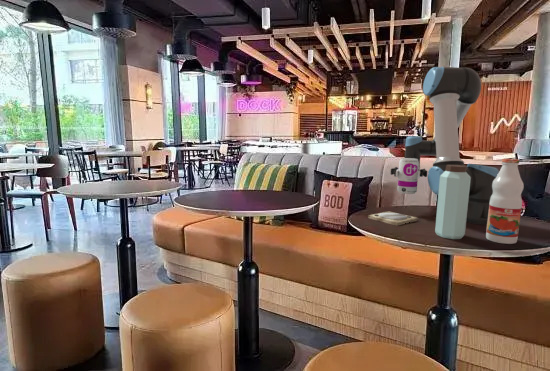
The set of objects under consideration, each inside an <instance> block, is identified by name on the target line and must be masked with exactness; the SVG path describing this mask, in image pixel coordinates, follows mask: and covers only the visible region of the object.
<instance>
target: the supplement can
mask: <svg viewBox="0 0 550 371" xmlns="http://www.w3.org/2000/svg"><path fill="white" fill-rule="evenodd" d="M398 168H399V172H398V177H397V185H396V186H397V189H396V190H397V192H398V193H399V194H402V195H403V194H406V195H414V194H417V192H418V180H419V179H418V178H417V176H418V169H419V161H418V159H414V158H405V157H402V158H400V160H399V161H398Z"/></svg>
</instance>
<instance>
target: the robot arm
mask: <svg viewBox="0 0 550 371" xmlns="http://www.w3.org/2000/svg"><path fill="white" fill-rule="evenodd" d="M422 91H423V95H425V96H427V97H429V103H431V104H432V105H433V115H434V116H433V118H434V137H433V140H428V139H427V140H424V139H423V137H421V136H411V135H409V136H406V138H405V144H404V158H414V159H418V161H419V169H418V176H417V178H418V180H420V177H421V178H422V177H425V178H426V177H427V184H428V186H429V189H430V190H431V192H432V193H433V194H435V195H437V196H438V193H439V182H440V175H442V174H443V173H444V172H445V169H446V165H462V166H465V161H464V160H463V159H462V158H460V147H459V146H460V144H459V130H458V128H459V127H460V125H461V124H462V122H463V120H464V118H465V117H466V115H467V113H468V112H469V110H470V108H471V106H472V105H474V104H475V103H476V102H477V100H479V97H480V95H481V92H482V80H481V77H480V74H478V73H477V71H476V70H474V69H472V68H470V67H457V66H455V67H453V66H452V67H450V66H433V67H432V68H430V69H429V70H428V72H427V73H426V75H425V78H424V80H423V85H422ZM422 156H432V157H433V156H434V157H436V160H435V161H434V162H433V163H432V167H430V168H429V170H426V169H425V168H421V157H422ZM466 166H467V167H466V172H467V174H468V175H469V176H470V177H471V180H470V189H469V199H468V209H467V218H466V223H468V224H469V223H470V224H475V225H483V226H484V225H485V226H487V221H488V212H489V202H490V198H491V195H492V194H493V189H492V183H493V180H494V179H495V178H496V177H497V175H498V173H499V171H500V170H499V169H498V168H497V167H493V166H488V165H481V164H476V163H475V164H474V163H467V165H466ZM398 172H399V167H397V166H394V167H392V168H390V175H391V176H392V175H394V176H393V177H395V178H398Z"/></svg>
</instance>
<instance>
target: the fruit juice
mask: <svg viewBox="0 0 550 371" xmlns="http://www.w3.org/2000/svg"><path fill="white" fill-rule="evenodd" d="M501 164H502V165H501V167H500V170H499V173H498V175H497V177H496V178H495V179H494V180H493V183H492V189H493V194H492V195H491V198H490V202H489V212H488V221H487V225H486V230H485V231H486V232H485V238H486V239H487V240H489V241H491V242H493V243H497V244H498V243H499V244H504V245H505V244H507V245H513V244H516V243H517V242H518V237H519V230H520V221H521V214H522V209H523V208H522V207H523V199H522V193H523V191H524V188H525V187H524V182H523V180H522V177H521V174H520V171H519V164H520V159H519V158H518V159H517V158H502V159H501Z"/></svg>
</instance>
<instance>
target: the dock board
mask: <svg viewBox="0 0 550 371" xmlns="http://www.w3.org/2000/svg"><path fill="white" fill-rule="evenodd" d="M367 219H369V220H374V221H377V222H381V223H384V224H388V225H389V224H390V225H393V226H401V225H405V223H406V224H409V222H410V223H413V222H418V217H417V216H411V215H406V214H402V213H397V212H393V211H389V210H388V211H383V212H379V213H374V214H373V213H372V214H368V215H367Z"/></svg>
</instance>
